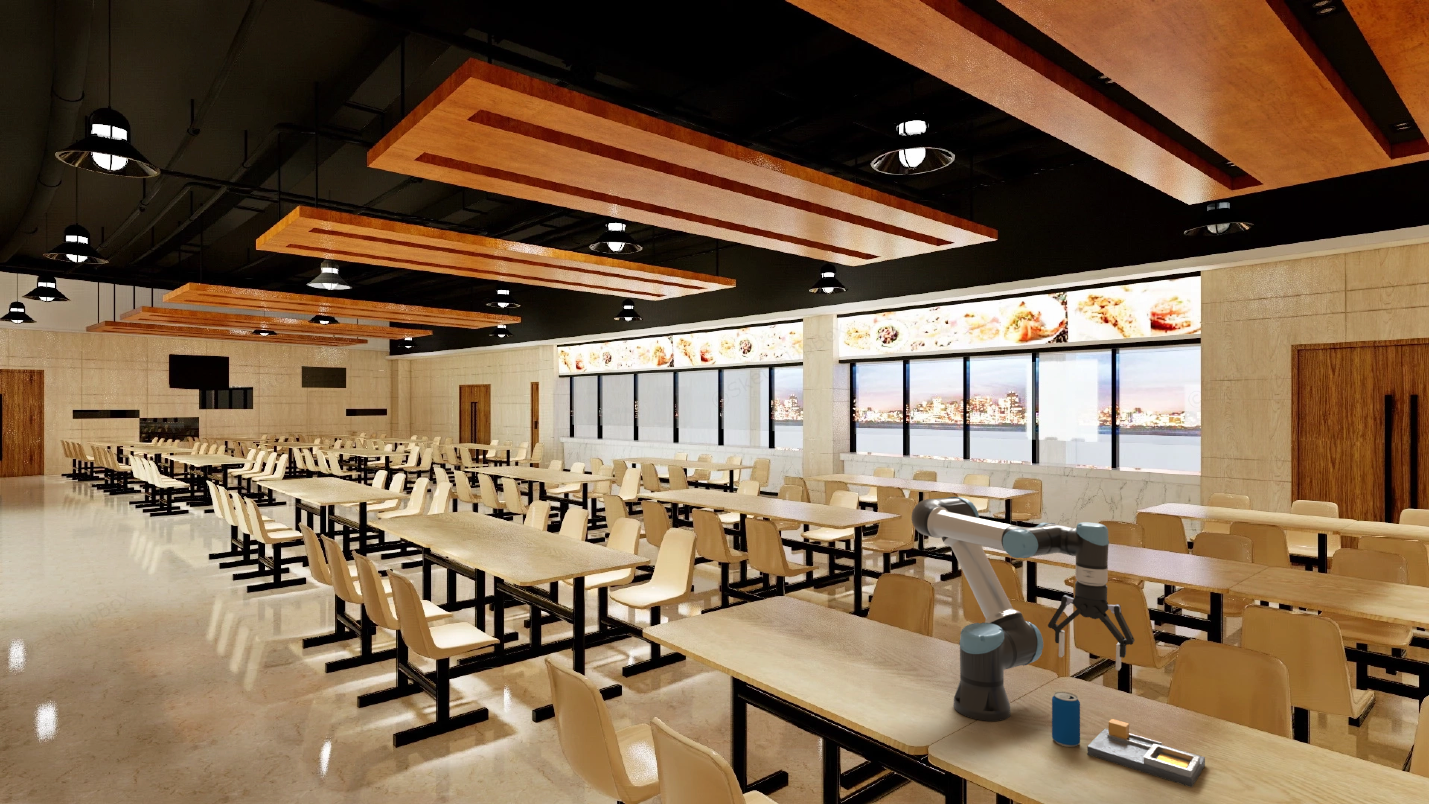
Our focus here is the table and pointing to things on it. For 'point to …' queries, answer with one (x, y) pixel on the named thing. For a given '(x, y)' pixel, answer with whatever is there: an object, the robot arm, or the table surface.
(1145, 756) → the panel
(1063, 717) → the beverage can
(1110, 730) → the block
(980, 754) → the table surface
